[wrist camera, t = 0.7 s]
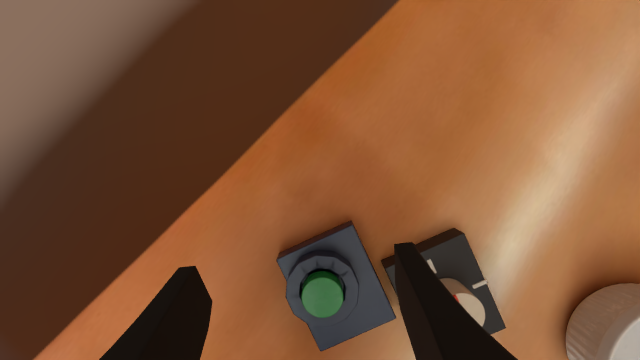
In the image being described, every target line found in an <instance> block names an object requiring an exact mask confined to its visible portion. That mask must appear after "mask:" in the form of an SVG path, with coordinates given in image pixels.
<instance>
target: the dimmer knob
mask: <svg viewBox="0 0 640 360" xmlns="http://www.w3.org/2000/svg"><path fill="white" fill-rule="evenodd" d="M440 281H441V282H442V283H443V284H444V285H445V287H446V288H447V289H448V290H449V292H450V293H451V294H452V295H453V296H454V297H455V299H456V300H457V301H458V302H459V303H460V304H461V305H462V306H463V308H464V309H465V310H466V311H467V312H468V313H469V314H470V315H471V316H472V317H473V318H474V319H475V320H476V321H477V322H478V323H479V324H480V325H481V326H483V324H484V321H485V310H484V307H483V305H482V303H481V302H480V301H479V300H478V299H477V298H476V297H475V296H474V295H473V294H472V293H471V292H470V291H469V290H468V289H467V288H466V287H465V286H463V285H462V284H461V283H460V282H459V281H457V280H455V279H451V278H443V279H440Z"/></svg>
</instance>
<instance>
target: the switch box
mask: <svg viewBox="0 0 640 360" xmlns="http://www.w3.org/2000/svg"><path fill="white" fill-rule="evenodd" d="M276 260H277V262H278V264H279V266H280V269H281V271H282V273H283V275H284V277H285V279H286V281H287V288H286V299H287V301H288V303H289V305H290V307H291V309H292V311H293V313H294V315H296V316H297V317H299V318H300V319H301V320H303V321H304V322H306V323H307V325H308V327H309V329H310V331H311V333H312V335H313V337H314V339H315V341H316V343H317V345H318V347H319V349H320V351H323V350H326V349H328V348H330V347H332V346H335V345H337V344H339V343H342V342H344V341H346V340H348V339H351V338H353V337H355V336H357V335H360V334H362V333H364V332H366V331H369V330H371V329H373V328H375V327H378V326H380V325H382V324H384V323H387V322H389V321H391V320H393V319H396V316H395V314H394V312H393V309H392V307H391V305H390V303H389V301H388V298H387V296H386V294H385V292H384V290H383V288H382V286H381V283H380V281H379V279H378V277H377V275H376V273H375V271H374V268H373V266H372V264H371V262H370V260H369V258H368V255H367V253H366V251H365V249H364V247H363V245H362V243H361V240H360V238H359V236H358V234H357V232H356V230H355V227H354V225H353V223H352V221H348V222H346V223H344V224H342V225H340V226H338V227H335V228H333V229H331V230H329V231H327V232H324V233H322V234H320V235H318V236H316V237H313V238H311V239H309V240H307V241H305V242H303V243H300V244H298V245H296V246H294V247H292V248H289V249H287V250H285V251H283V252H281V253H279V255H278V257H277V259H276ZM318 271H327V272H330V273H332V274H334V275H335V276H336V277H337V278H338V279H339V280H340V282H341V285H342V290H343V303H342V306H341V308H340V309H339V311H338V312H337V313H335V314H334V315H332V316H330V317H326V318H319V317H315V316H313V315H311V314H310V313H308V312H307V311H306V309H305V308H304V306H303V304H302V290H303V285H304V282H305V280H306V279H307V278H308V277H309V276H310V275H311V274H313V273H315V272H318Z"/></svg>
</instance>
